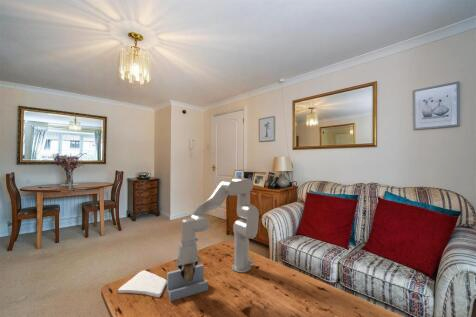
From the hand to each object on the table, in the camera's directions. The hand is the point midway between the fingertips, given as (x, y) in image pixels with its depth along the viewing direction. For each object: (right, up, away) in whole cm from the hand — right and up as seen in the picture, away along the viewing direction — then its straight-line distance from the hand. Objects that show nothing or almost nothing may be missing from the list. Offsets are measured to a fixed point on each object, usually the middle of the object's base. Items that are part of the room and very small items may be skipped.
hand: (187, 275), depth 113 cm
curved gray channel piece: (0, -9, 0) cm, 8 cm away
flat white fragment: (-23, -9, +6) cm, 26 cm away
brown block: (0, -2, 0) cm, 2 cm away
